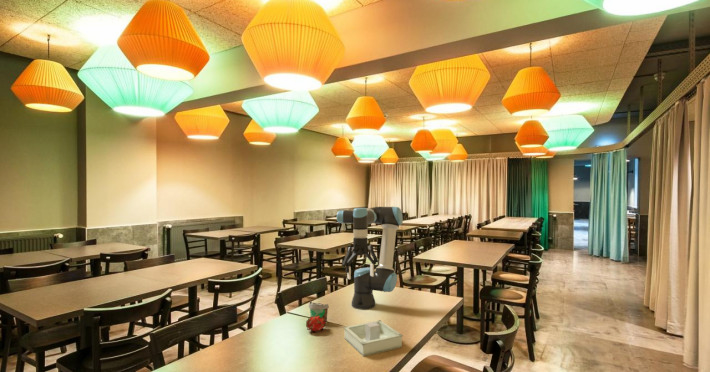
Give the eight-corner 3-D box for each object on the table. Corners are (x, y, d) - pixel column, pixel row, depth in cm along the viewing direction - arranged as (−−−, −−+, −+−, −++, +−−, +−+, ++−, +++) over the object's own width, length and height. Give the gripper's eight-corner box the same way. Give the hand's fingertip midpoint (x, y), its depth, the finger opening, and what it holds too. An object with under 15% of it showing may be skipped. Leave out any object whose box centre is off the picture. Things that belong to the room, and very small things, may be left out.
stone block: (374, 338, 166) (374, 321, 167) (379, 342, 162) (379, 325, 162) (365, 340, 164) (365, 323, 164) (370, 344, 160) (370, 327, 160)
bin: (380, 331, 177) (380, 320, 177) (402, 347, 158) (402, 335, 158) (343, 338, 168) (343, 327, 168) (362, 356, 149) (362, 343, 149)
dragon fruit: (303, 336, 175) (324, 334, 181) (310, 330, 170) (331, 328, 176) (301, 319, 180) (321, 318, 186) (308, 313, 174) (328, 312, 181)
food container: (304, 321, 190) (304, 303, 190) (310, 318, 195) (310, 300, 196) (322, 325, 184) (322, 307, 184) (328, 322, 190) (328, 303, 190)
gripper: (377, 234, 190) (377, 273, 190) (335, 237, 179) (336, 278, 179) (384, 236, 183) (384, 276, 183) (341, 239, 173) (341, 281, 172)
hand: (360, 277), depth 181 cm, fingers open, 13 cm apart
